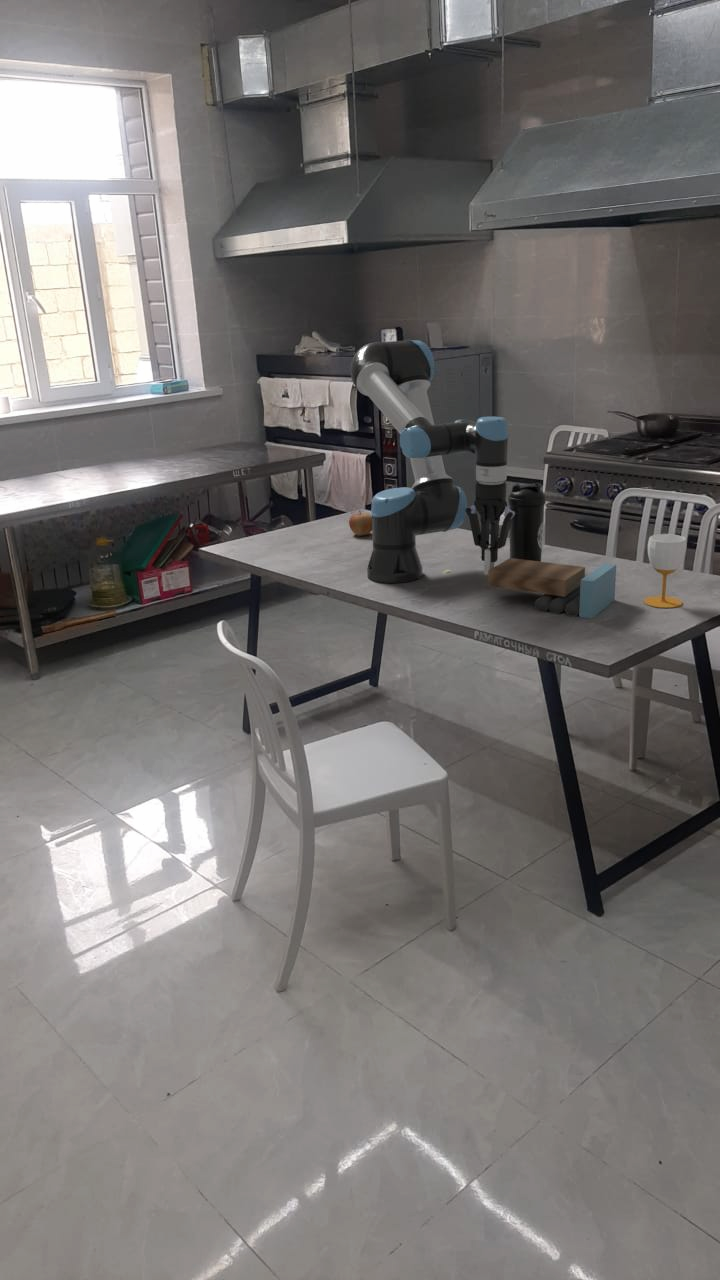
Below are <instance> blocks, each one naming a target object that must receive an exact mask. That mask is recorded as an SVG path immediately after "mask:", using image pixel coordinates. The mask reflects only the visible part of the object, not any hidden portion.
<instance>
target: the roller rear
mask: <svg viewBox="0 0 720 1280" xmlns="http://www.w3.org/2000/svg"><path fill="white" fill-rule="evenodd" d="M557 597H558V596H556V595H549V594H542V595H541V596H540V597H538V598H537V599H536V600H535V602H534V608H535V609H536V610H537V612H543V613H544V612H545V613H546V612H547V611H548V610H549V603H550V602H551V601H552V600H554V599H555V598H557Z"/></svg>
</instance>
